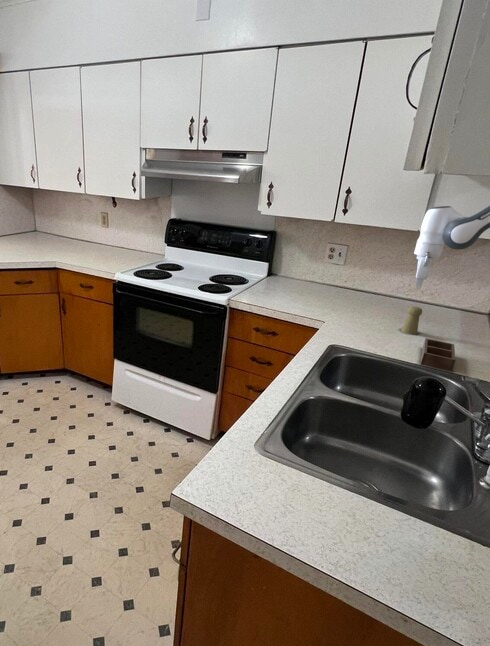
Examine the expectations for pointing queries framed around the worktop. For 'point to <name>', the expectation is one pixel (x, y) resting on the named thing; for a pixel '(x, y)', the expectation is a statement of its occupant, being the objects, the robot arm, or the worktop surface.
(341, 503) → the worktop surface
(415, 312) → the cork
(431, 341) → the rack
